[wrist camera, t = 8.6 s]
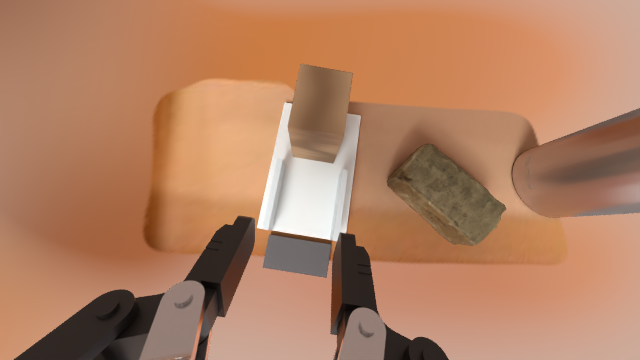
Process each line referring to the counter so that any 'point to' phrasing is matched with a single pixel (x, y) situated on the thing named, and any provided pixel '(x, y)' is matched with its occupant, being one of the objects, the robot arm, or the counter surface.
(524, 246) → the counter surface
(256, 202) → the counter surface
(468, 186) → the stone block
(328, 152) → the walnut block
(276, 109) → the counter surface
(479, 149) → the counter surface
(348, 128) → the white tray
